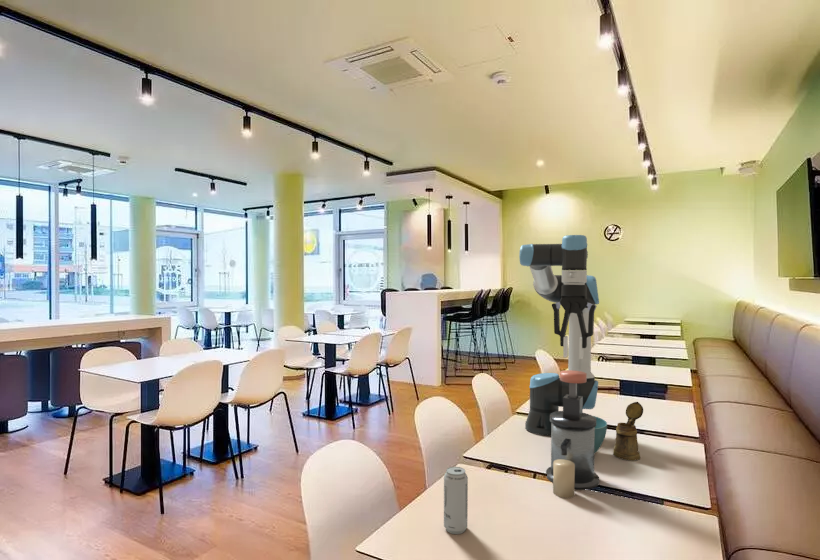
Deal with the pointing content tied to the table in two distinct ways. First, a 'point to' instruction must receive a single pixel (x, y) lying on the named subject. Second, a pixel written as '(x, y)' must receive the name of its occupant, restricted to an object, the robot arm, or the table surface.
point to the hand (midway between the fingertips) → (573, 357)
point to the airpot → (574, 442)
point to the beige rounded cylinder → (563, 478)
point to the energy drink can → (455, 500)
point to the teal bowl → (599, 433)
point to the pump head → (573, 380)
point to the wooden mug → (628, 434)
